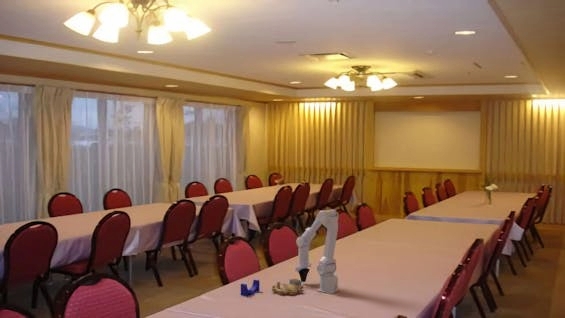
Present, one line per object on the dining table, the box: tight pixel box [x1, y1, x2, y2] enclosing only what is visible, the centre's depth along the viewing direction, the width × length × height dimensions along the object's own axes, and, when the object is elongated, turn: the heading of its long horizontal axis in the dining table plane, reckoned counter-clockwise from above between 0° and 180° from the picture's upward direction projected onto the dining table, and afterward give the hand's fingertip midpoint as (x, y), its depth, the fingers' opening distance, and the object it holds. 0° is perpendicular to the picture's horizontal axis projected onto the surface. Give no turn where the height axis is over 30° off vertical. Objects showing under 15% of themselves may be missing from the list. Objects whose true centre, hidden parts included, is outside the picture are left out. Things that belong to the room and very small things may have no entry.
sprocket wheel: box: [271, 281, 304, 296], centre depth 301 cm, size 17×17×5 cm
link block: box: [289, 278, 302, 286], centre depth 311 cm, size 6×4×4 cm, turn 28°
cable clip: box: [240, 279, 260, 297], centre depth 297 cm, size 12×4×6 cm, turn 144°
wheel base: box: [275, 292, 299, 296], centre depth 301 cm, size 13×13×1 cm
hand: (303, 281), depth 316 cm, fingers closed
